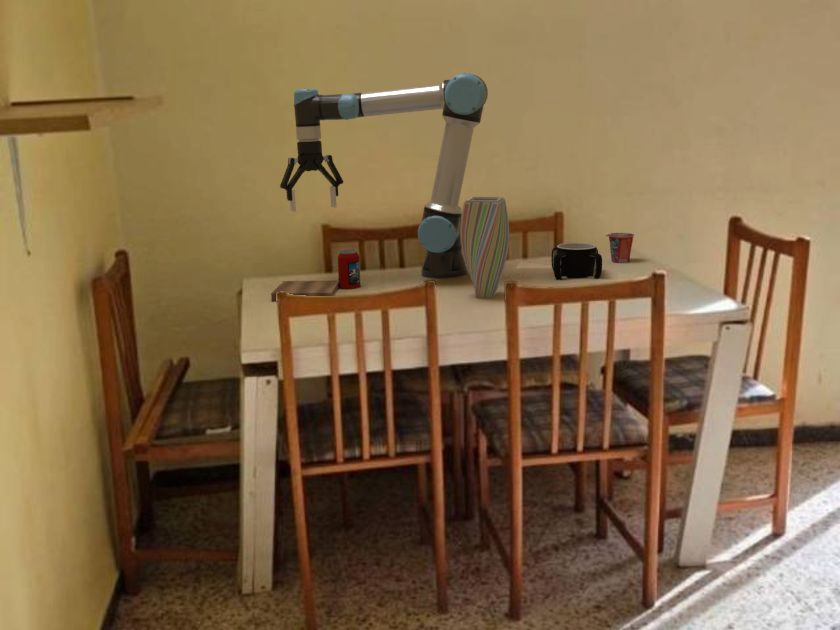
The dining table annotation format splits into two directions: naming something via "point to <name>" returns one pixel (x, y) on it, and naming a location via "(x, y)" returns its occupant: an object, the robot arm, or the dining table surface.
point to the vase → (485, 242)
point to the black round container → (576, 261)
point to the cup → (620, 246)
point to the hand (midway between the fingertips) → (313, 209)
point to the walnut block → (307, 288)
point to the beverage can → (349, 269)
